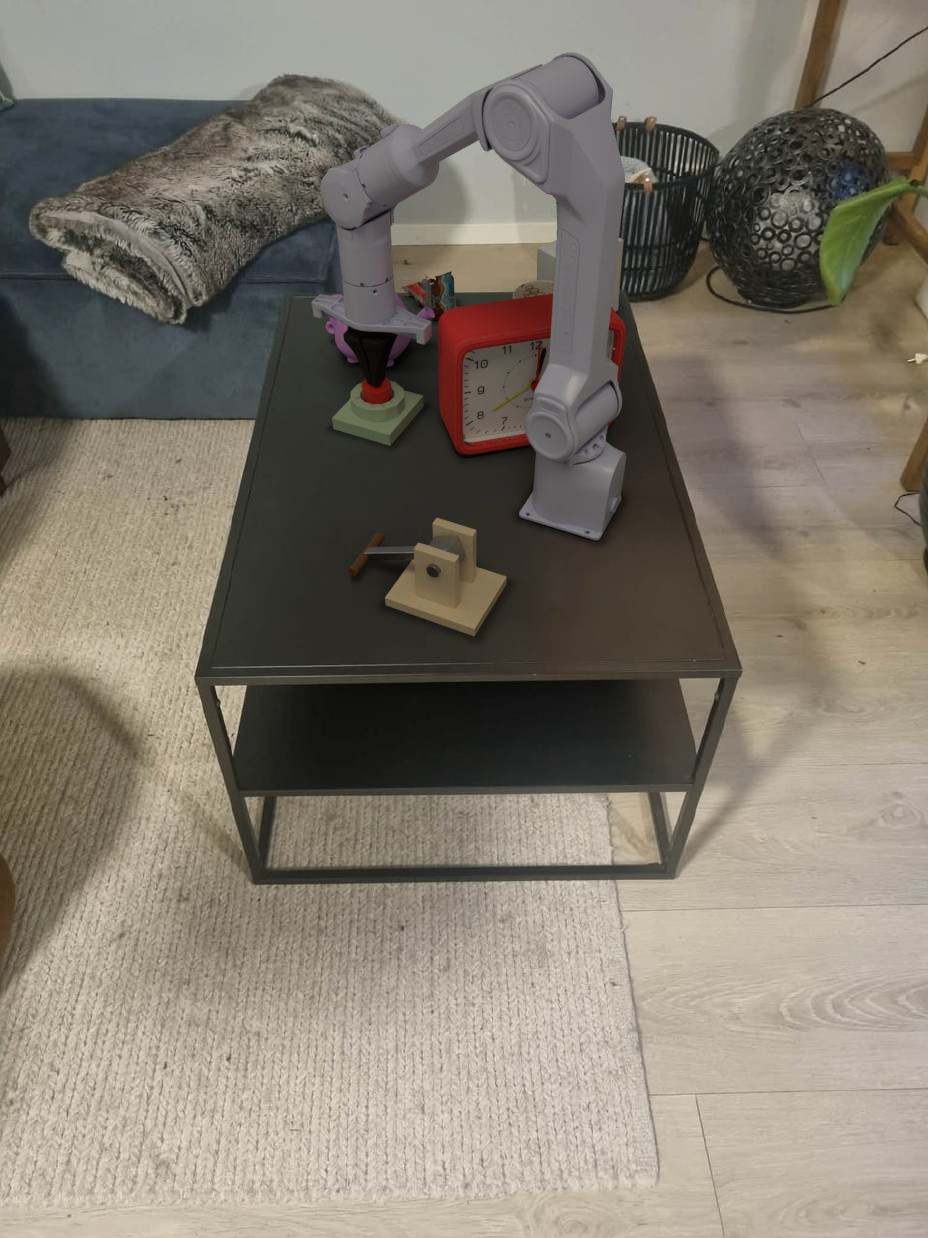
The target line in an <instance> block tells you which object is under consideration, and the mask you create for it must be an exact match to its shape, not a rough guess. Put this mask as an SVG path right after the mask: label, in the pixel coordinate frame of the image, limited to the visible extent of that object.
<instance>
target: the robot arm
mask: <svg viewBox="0 0 928 1238" xmlns="http://www.w3.org/2000/svg"><path fill="white" fill-rule="evenodd" d="M613 98H614V89H613V88H612V86H611V85H610V84H609V83H608V81H607V80H606V78H605V77H604V76H603V75H602V73H601V72H600V71H599V70H598V68H597V67H596V65H594V63H593V62H592V61H591V60H590V59H589V58H588V57H586V56H584V55H583V54H580V53H578V52H572V51H571V52H570V51H569V52H564V53H561V54H559V55H557V56H555V57H553V58H552V59H551V61H549V62H546V63H545V64H543V63H540V64H537V65H535V66H531V67H530V68H527V69H525V70H521V71H520V72H517V73H515V74H512V75H510V76H507V77H505V78H502V79H500V80H497V81H494V82H493V83H491V84H488V85H486V86H484V87H482V88H480V89H477V90H476V91H474V92H472V93H470V94H468V95H467V96H466V97H464V98H463V99H461V100H460V101H459V102H458V103H456V104H455V105H454V106H452V107H450V108H449V109H448V110H447V111H446V112H443V114H441V115H440V116H439V117H437V118H436V119H434V120H433V121H432V122H430V123H429V124H428V125H427V126H425V127H424V128H421V127H419V126H417V125H414V124H409V123H407V124H402V125H399V124H398V122H394V123H392V124H389V125H388V126H386V127H384V128H382V130H380V131H379V134H380V136H381V138H380V139H379V140H378V141H377V142H375V143H373V144H372V145H371V146H369V147H368V145H363V146H360V147H359V148H357V149H355V150H354V151H353V157H354V158H353V159H352V160H350V161H348V162H345V163H343V164H341V165H339V166H333V167H330V168H329V169H328V170H327V172H326V173H325V174H324V175H323V177H322V179H321V181H320V188H319V189H320V190H319V191H320V198H321V202H322V205H323V208H324V210H325V211H326V214H327V215H328V216H329V217H330V219H331V220H332V221H333V222H334V223H335V227H336V237H337V247H338V253H339V254H338V255H339V256H338V257H339V265H340V273H341V274H340V275H341V285H342V293H343V294H342V295H343V296H344V297H340V296H332V295H326V294H323V293H320V294H319V295H317V296H316V297H315V298H314V299H313V300H312V301H311V308H312V316H313V317H314V318H317V319H322V318H324V317H327V318H329V317H330V318H334V319H338V320H339V321H341V322H343V323H345V324H346V325H348V327H347V328H348V330H347V331H346V332H345V333H344V334H343V337H344V341H345V342H346V343H347V345H348V346H349V347H350V348H351V350H352V351H353V352H354V354H355V356H356V357H357V359H358V361H359V362H358V363H359V365H360V367H361V370H362V373H363V375H364V377H365V379H366V380H367V383H368V384H369V385H373V386H376V387H377V386H379V385H380V384H381V383H382V382H383V381H384V379H385V378H386V374H387V369H388V367H387V364H388V360H389V356H390V353H391V350H392V347H393V345H394V342H395V340H396V338H397V336H398V335H401V336H405V337H409V338H411V339H414V340H416V343H417V344H420V345H422V346H423V345H424V346H425V345H426V344H427V343H428V342H429V340H430V339H431V338H432V337H433V326H432V325H433V322H432V320H430V321H428V320H425V319H422V318H420V317H418V316H416V315H417V314H414V313H412V312H410V311H409V310H407V309H406V310H405V309H403V308H401V307H399V306H397V305H396V304H395V292H396V291H395V275H394V274H395V273H394V260H393V245H392V244H393V243H392V226H393V224H394V223H395V209H396V208H397V206H398V205H399V204H400V203H401V202H404V201H405V200H407V199H409V198H410V197H412V196H415V195H416V194H417V193H419V192H421V191H423V190H424V189H426V188H428V187H430V186H432V184H433V183H434V182H435V181H436V180H437V177H438V174H439V170H440V162H442V161H443V160H445V159H448V158H449V157H451V156H453V155H455V154H457V153H458V152H460V151H462V150H464V149H465V148H468V147H470V146H471V145H473V144H475V143H477V142H479V144H480V147H481V148H482V150H483V151H484V152H490V151H492V150H493V151H494V152H495V153H496V155H497V156H498V157H499V158H500V159H501V160H502V161H503V162H504V163H506V164H507V165H509V166H510V167H511V168H512V169H514V170H515V171H516V172H518V173H519V174H520V175H522V176H523V177H524V178H525V179H527V180H528V181H529V182H530V183H531V184H533V185H534V186H535V187H537V188H538V189H539V190H541V191H542V192H543V193H545V194H546V195H550V196H552V197H553V198H554V199H555V200H556V201H557V203H558V204H557V205H558V209H557V210H558V211H557V227H556V240H557V242H556V258H555V274H554V290H553V307H552V323H551V339H550V355H549V364H548V366H547V368H546V370H545V372H544V374H543V376H542V378H541V379H540V381H539V383H538V385H537V387H536V389H535V392H534V401H533V405H532V408H531V409H530V411H529V412H528V413H527V415H526V418H525V432H526V436H527V438H528V440H529V442H530V444H531V445H530V446H531V447H532V448H533V449H534V452H535V460H534V461H535V462H534V476H533V489H532V492H531V494H530V495H529V496H528V498H527V500H526V502H524V503H523V506H522V507H521V508H520V510H519V513H518V516H519V517H520V518H521V519H524V520H527V521H530V522H533V523H537V524H540V525H543V526H547V527H550V528H554V529H557V530H560V531H562V532H567V533H570V534H573V535H576V536H580V537H582V538H586V539H590V540H592V541H599V540H600V539H601V538H602V536H603V534H604V533H605V530H606V529H607V527H608V526H609V524H610V522H611V520H612V518H613V516H614V514H615V513H616V511H617V509H618V507H619V505H620V503H621V502H622V495H621V494H622V489H623V482H624V476H625V470H626V463H627V454H626V453H625V452H624V451H623V450H620V449H618V448H616V447H614V446H612V445H611V444H610V443H609V442H607V434H608V429H609V427H608V423H609V422H611V421H612V420H613V421H614V420H615V419H616V418H617V417H618V416H619V415H620V413H621V411H622V407H623V397H622V392H621V389H620V387H619V386H618V382H617V373H618V366H617V365H616V364H614V363H613V362H612V361H611V360H609V359H608V358H606V348H607V339H608V331H609V322H610V313H611V304H612V295H613V286H614V277H615V268H616V259H617V250H618V241H619V238H620V233H621V232H620V231H621V222H622V221H621V220H622V211H623V203H624V195H625V184H626V176H625V175H626V174H625V169H624V165H623V161H622V157H621V153H620V149H619V145H618V141H617V138H616V134H615V129H614V127H613V122H612V119H611V117H612V109H613V108H612V107H613ZM330 318H329V319H330ZM613 421H612V422H613Z"/></svg>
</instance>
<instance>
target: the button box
mask: <svg viewBox="0 0 928 1238" xmlns="http://www.w3.org/2000/svg"><path fill="white" fill-rule="evenodd" d="M390 382H391V386H392V398H391V400H390V401H389V402H386V403H383V404H370V403H367V402H365V401H364V400H363V395H362V383H363V381H362V382H360V383H357V384H356V385H355V386H354V387H353V388H352V389H351V390H350V398H349V400H347V402H346V403H344V405H343V406H342V407H341V408H340V409H339V410H338V411H337V412H336V413H335V414H334V415H333V416H332V417H331V421H332V429H333V430H335V431H338V432H341V433H345V434H348V435H351V436H355V437H358V438H362V439H364V440H368V441H372V442H376V443H379V444H382V445H385V446H389V447H391V446H392V445H393V443H395V441H396V440H397V439H398V438H399V436H400V435H401V434H402V433H403V432H404V431H405V429H406V428H407V427H408V426H409V425H410V424H411V422H413V420H414V419H415V418H416V416H417V415H418V414H419V413H420V412H421V410H422V409H423V408H424V405H425V404H424V403H425V402H424V395H422V394H418V393H415V392H411V391H408V390H404V388H403V387H402V386H401V385H399V384H398V383H397V382H395V381H392V380H390Z"/></svg>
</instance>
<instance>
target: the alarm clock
mask: <svg viewBox="0 0 928 1238" xmlns="http://www.w3.org/2000/svg"><path fill="white" fill-rule="evenodd" d="M552 307H553V294H546V295H539V296H532V297H525V298H518V299H512V298H511V299H506V300H498V301H491V302H490V301H489V302H484V303H477V304H469V305H462V306H457V307H456V308H452V309H449V310H447V311H446V312H444V313H443V314H442V315H441V317H440V319H438V323H437V367H438V369H437V370H438V371H437V372H438V406H439V407H438V408H439V413H440V416H441V419H442V421H443V423H444V425H445V428H446V430H447V433H448V435H449V438H450V439H451V442H452V444H453V446H454V448H455V451H456V453H458V454H460V455H462V456H474V455H481V454H486V453H492V452H497V451H504V450H510V449H515V448H521V447H527V446H532V445H531V444H530V442H529V440H528V438H527V436H526V432H525V418H526V415H527V413H528V412H529V411H530V409H531V408H532V405H533V401H534V392H535V389H536V387H537V385H538V383H539V381H540V379H541V378H542V376H543V374H544V372H545V370H546V368H547V366H548V364H549V355H550V339H551V323H552ZM626 329H627V328H626V324H625V323H624V321H623V320H622V318H621V317H620V316H619V314H618V313H617V311H616V312H615V311H614V309H613V308H612V306H611V313H610V322H609V331H608V339H607V348H606V358H608V359H609V360H611V361H612V362H613V363H614V364H616V365H617V366H618V373H617V382H618V386H619V385H620V378H621V373H622V366H623V357H624V350H625V344H626V336H627V335H626V334H627V330H626ZM613 421H614V419H613V420H612V421H611V422H609V423H608V428H610V426H611V425H612V424H613V423H612V422H613Z"/></svg>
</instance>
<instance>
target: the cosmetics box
mask: <svg viewBox="0 0 928 1238" xmlns="http://www.w3.org/2000/svg"><path fill="white" fill-rule="evenodd" d="M624 241H625V240H624V239H623V238H621V237H619V241H618V250H617V259H616V268H615V277H614V286H613V295H612V304H611V306H612V308H613V309H614V311H615V312H616V313H617V312H618V311H619V303H620V289H621V287H620V286H621V274H622V263H623V262H622V261H623V253H624V252H623V250H624ZM556 242H557V239H556V240H553V241H551V242H549V243H545V244H543V245H541V246H538V247H537V248H536V251H537V252H536V253H537V254H536V281H537V280H550V281H554V274H555V258H556Z"/></svg>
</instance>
